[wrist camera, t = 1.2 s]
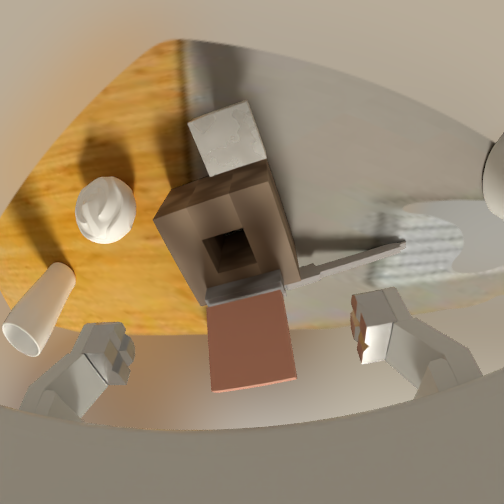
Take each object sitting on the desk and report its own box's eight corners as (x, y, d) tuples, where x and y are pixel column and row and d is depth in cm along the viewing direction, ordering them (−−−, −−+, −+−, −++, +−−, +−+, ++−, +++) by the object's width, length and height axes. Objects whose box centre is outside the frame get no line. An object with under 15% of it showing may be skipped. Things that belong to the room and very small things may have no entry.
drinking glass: (49, 249, 42) (0, 314, 30) (84, 269, 44) (41, 340, 32) (45, 278, 46) (2, 341, 33) (77, 296, 48) (40, 364, 35)
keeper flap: (280, 289, 32) (282, 293, 32) (206, 307, 33) (210, 311, 34) (295, 377, 26) (297, 379, 27) (211, 391, 28) (216, 392, 29)
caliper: (264, 271, 44) (265, 301, 39) (262, 265, 44) (263, 295, 38) (404, 245, 42) (421, 272, 36) (404, 239, 41) (422, 265, 36)
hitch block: (265, 157, 35) (269, 189, 27) (294, 242, 41) (303, 292, 33) (171, 189, 37) (147, 229, 29) (208, 266, 44) (198, 318, 35)
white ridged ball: (127, 158, 35) (100, 181, 29) (156, 209, 39) (137, 241, 32) (81, 185, 37) (52, 212, 30) (110, 231, 41) (87, 263, 34)
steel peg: (249, 93, 31) (246, 101, 24) (264, 136, 34) (266, 158, 26) (204, 109, 32) (187, 123, 25) (220, 150, 35) (209, 177, 27)
